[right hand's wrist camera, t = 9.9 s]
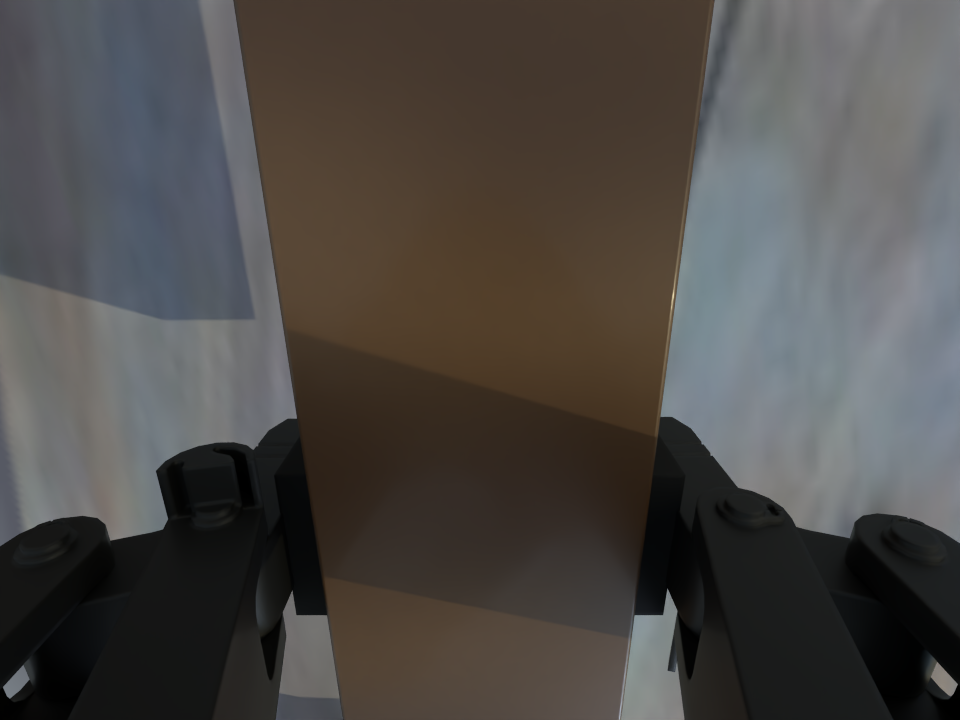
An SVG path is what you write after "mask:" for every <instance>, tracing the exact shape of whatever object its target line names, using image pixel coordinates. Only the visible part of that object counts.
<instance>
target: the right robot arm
mask: <svg viewBox="0 0 960 720" xmlns="http://www.w3.org/2000/svg"><path fill="white" fill-rule="evenodd" d="M156 473H157V477H158V481H159V485H160V488H161V492H162V496H163V500H164V504H165V508H166V512H167V516H168V521H167V523H166V525H165V527H164V529H163V530H160V531H156V532H152V533H147V534H142V535H137V536H132V537H127V538H122V539H117V540H112V541H110V538H109V535H108V532H107V529H106V525H105V524H104V523H103V522H102V521H100V520H99V519H98V518H93V517H86V516H78V517H69V518H60V519H56V520H53V521H48V522H45V523H42V524H39V525H37V526H36V527H34V528H32V529H30V530H27V531H25V532H23V533H21V534H19V535H17V536H16V537H14V538H12V539H11V540H9V541H8V542H6V543H5V544H3V545H2V546H0V720H275V719H276V712H277V704H278V696H279V688H280V681H281V673H282V665H283V657H284V649H285V642H286V630H285V623H284V617H283V610H284V608H285V606H286V603H287V601H288V599H289V597H290V594H291V592H292V590H293V596H294V602H295V608H296V614H297V615H327V610H326V604H325V597H324V591H323V584H322V578H321V571H320V565H319V558H318V551H317V545H316V538H315V532H314V525H313V519H312V512H311V506H310V499H309V492H308V486H307V479H306V473H305V466H304V460H303V453H302V447H301V440H300V433H299V427H298V420H297V419H287V420H285V421H283V422H282V423H280V424H279V425H277V426H275V427H274V428H272V429H270V430H269V431H268V432H267V434H266V435H265V436H264V437H263V439H262V440H261V441H260V442H259V445H258V446H256V448H255V449H254V450H252V449H251V448H250V447H248V446H247V445H243V444H238V443H234V442H232V443H213V444H208V445H203V446H198V447H195V448H192V449H189V450H187V451H184V452H181V453H179V454H177V455H176V456H174V457H172V458H170V459H169V460H167V461H165V462H164V463H163V464H162V465H161V466H160V467H159V468H158V469H157V470H156ZM667 588H668V590H669V592H670V595H671V597H672V599H673V601H674V604H675V606H676V608H677V611H678V612H677V617H676V623H675V629H674V635H673V640H672V646H671V652H670V657H669V665H668V671H672V672H675V669H676V663H677V664H678V672H679V679H680V687H681V695H682V702H683V710H684V718H685V720H960V543H958V542H957V541H955V540H954V539H952V538H951V537H949V536H947V535H946V534H944V533H943V532H941V531H939V530H937V529H934V528H932V527H930V526H928V525H925V524H924V523H923V522H920V521H917V520H914V519H911V518H910V519H907V517H903V516H898V515H887V514H871V515H864V516H862V517H861V518H859V519H858V520H857V521H856V522H855V524H854V527H853V530H852V533H851V537H850V538H845V537H840V536H835V535H830V534H825V533H820V532H815V531H810V530H806V529H802V528H798V527H796V526H795V524H794V522H793V520H792V518H791V517H790V516H789V514H788V513H787V512H786V511H785V510H784V508H783V507H781V506H780V505H778V504H777V503H775V502H774V501H772V500H771V499H769V498H767V497H765V496H762V495H760V494H758V493H755V492H753V491H749V490H745V489H740V488H738V487H737V486H736V485H735V484H734V482H733V481H732V480H731V478H730V477H729V476H728V475H727V473H726V472H725V471H724V470H723V468H722V467H721V466H720V465H719V463H718V462H717V461H716V460H715V458H714V457H713V456H710V452H709V451H708V450H707V448H706V447H705V446H704V445H702V444H701V441H700V439H699V438H698V437H697V436H696V434H695V433H694V432H693V431H692V429H691V428H689V427H688V426H686V425H684V424H683V423H681V422H679V421H678V420H676V419H674V418H673V417H660V423H659V430H658V438H657V446H656V453H655V461H654V469H653V477H652V484H651V492H650V500H649V507H648V515H647V523H646V530H645V538H644V546H643V553H642V561H641V569H640V576H639V584H638V592H637V599H636V607H635V615H663V612H664V606H665V600H666V593H667ZM937 662H938V663H939V664H940V665H941V666H942V667H943V668H944V670H945V671H946V672H947V673H948V674H949V675H950V676H951V677H952V678H953V679H954V680H955V681H956V683H957V684H958V685H957V688H956V690H955V692H954V694H953V695H952V696H949V695H947V694H946V693H945V692H944V691H943V690H942V689H941V688H940V687H939V686H938V685H937V684H936V683H935V682H934V680H933V679H932V678H931V675H932V673H933V670H934V668H935V666H936V663H937ZM23 665H24V667H25V669H26V672H27V674H28V676H29V679H30V680H29V681H28V682H27V683H26V684H25V686H24V687H23V688H22V689H21V690H20V691H19V692H18V693H16V694H15V695H14V696H13V697H12V698H10V699H9V698H8V697H7V696H6V693H5V691H4V689H3V686H4V685H5V684H6V683H7V682H8V681H9V680H10V679H11V677H12V676H13V675H14V674H15V673H16V672H17V671H18V670H19V669H20V668H21V667H22V666H23Z"/></svg>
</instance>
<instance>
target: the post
mask: <svg viewBox="0 0 960 720" xmlns="http://www.w3.org/2000/svg"><path fill="white" fill-rule="evenodd" d="M234 7H235V14H236V20H237V27H238V33H239V40H240V46H241V53H242V60H243V66H244V73H245V79H246V86H247V92H248V99H249V105H250V112H251V119H252V125H253V132H254V138H255V145H256V151H257V158H258V164H259V171H260V178H261V184H262V191H263V197H264V204H265V210H266V217H267V224H268V230H269V237H270V243H271V250H272V256H273V263H274V269H275V276H276V283H277V289H278V296H279V302H280V309H281V315H282V322H283V328H284V335H285V342H286V348H287V355H288V361H289V368H290V374H291V381H292V387H293V394H294V401H295V407H296V414H297V420H298V427H299V433H300V440H301V447H302V453H303V460H304V466H305V473H306V479H307V486H308V492H309V499H310V506H311V512H312V519H313V525H314V532H315V538H316V545H317V551H318V558H319V565H320V571H321V578H322V584H323V591H324V597H325V604H326V610H327V617H328V624H329V630H330V637H331V643H332V650H333V656H334V663H335V670H336V676H337V683H338V689H339V696H340V702H341V709H342V715H343V720H621V715H622V707H623V699H624V692H625V684H626V676H627V669H628V661H629V653H630V645H631V638H632V630H633V622H634V615H635V607H636V599H637V592H638V584H639V576H640V569H641V561H642V553H643V546H644V538H645V530H646V523H647V515H648V507H649V500H650V492H651V484H652V477H653V469H654V461H655V453H656V446H657V438H658V430H659V423H660V415H661V407H662V400H663V392H664V384H665V377H666V369H667V361H668V354H669V346H670V338H671V331H672V323H673V315H674V308H675V300H676V292H677V285H678V277H679V269H680V261H681V254H682V246H683V238H684V231H685V223H686V215H687V208H688V200H689V192H690V185H691V177H692V169H693V162H694V154H695V146H696V139H697V131H698V123H699V116H700V108H701V100H702V93H703V85H704V77H705V69H706V62H707V54H708V46H709V39H710V31H711V23H712V16H713V8H714V0H234Z"/></svg>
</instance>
